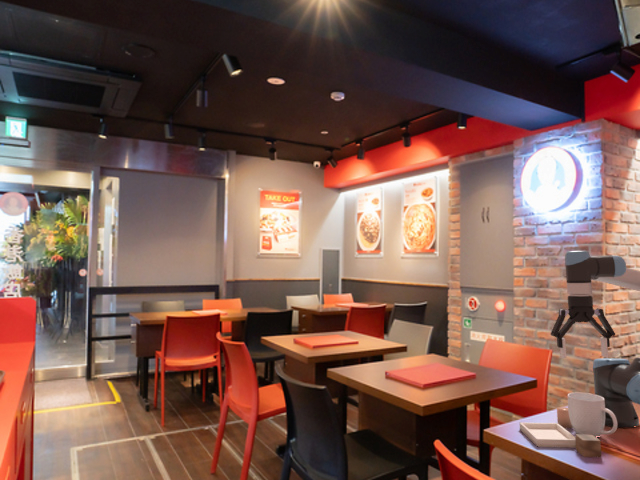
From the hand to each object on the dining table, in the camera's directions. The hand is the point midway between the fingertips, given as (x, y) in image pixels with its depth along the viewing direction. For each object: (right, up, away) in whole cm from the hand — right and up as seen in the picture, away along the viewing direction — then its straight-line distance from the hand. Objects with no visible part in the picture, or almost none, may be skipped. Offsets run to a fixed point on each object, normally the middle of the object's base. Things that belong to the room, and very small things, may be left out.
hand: (584, 357), depth 153 cm
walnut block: (-8, -26, -16) cm, 32 cm away
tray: (-14, -27, -3) cm, 30 cm away
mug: (+1, -27, -2) cm, 27 cm away
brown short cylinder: (-2, -27, +8) cm, 28 cm away
